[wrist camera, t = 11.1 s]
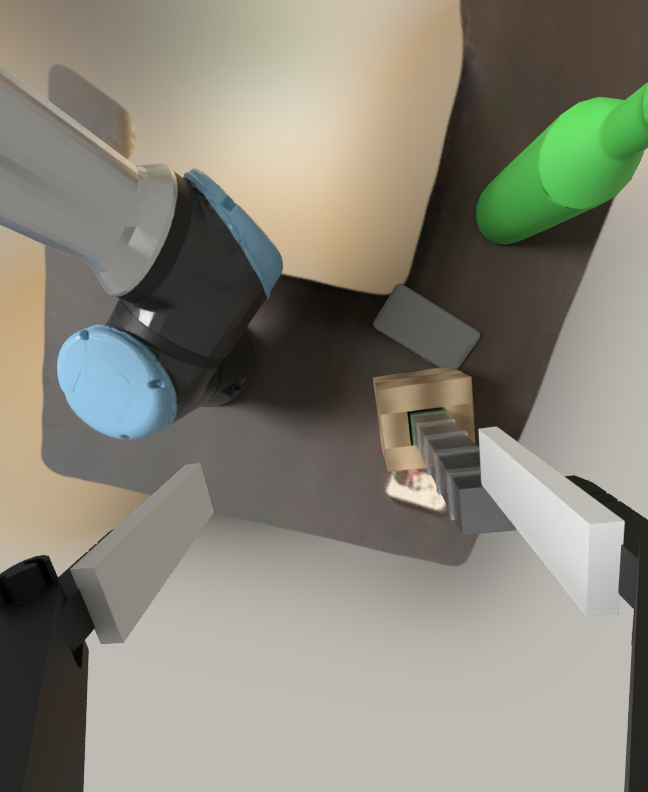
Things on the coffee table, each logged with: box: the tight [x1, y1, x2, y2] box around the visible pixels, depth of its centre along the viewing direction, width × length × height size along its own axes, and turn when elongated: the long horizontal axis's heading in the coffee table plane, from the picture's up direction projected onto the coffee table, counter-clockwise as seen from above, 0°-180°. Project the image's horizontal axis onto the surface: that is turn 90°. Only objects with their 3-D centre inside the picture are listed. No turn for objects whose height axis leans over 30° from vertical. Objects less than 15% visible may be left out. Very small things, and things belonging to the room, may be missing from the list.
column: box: [408, 407, 516, 535], centre depth 35 cm, size 4×4×22 cm
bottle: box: [476, 83, 648, 245], centre depth 31 cm, size 9×9×25 cm
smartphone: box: [373, 284, 480, 370], centre depth 48 cm, size 8×1×15 cm
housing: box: [373, 367, 475, 472], centre depth 46 cm, size 12×12×11 cm
